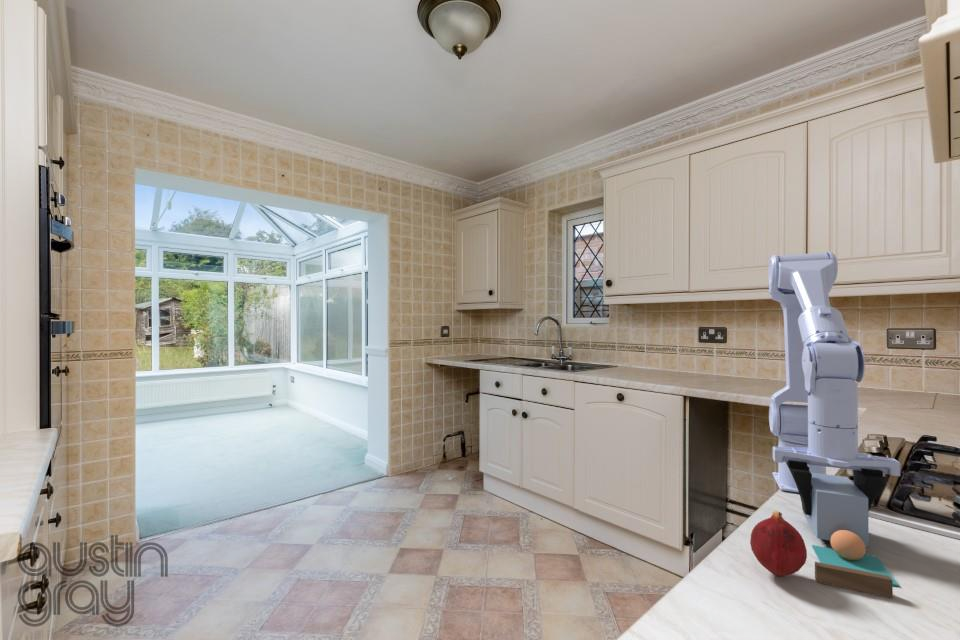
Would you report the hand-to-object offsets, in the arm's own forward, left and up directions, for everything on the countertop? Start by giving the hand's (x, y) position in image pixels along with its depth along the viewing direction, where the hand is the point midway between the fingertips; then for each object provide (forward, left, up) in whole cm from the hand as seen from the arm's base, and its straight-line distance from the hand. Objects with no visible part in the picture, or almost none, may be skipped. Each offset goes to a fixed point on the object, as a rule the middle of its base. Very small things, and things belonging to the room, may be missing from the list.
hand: (832, 516), depth 64 cm
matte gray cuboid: (0, 0, -2) cm, 2 cm away
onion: (+16, -9, -3) cm, 18 cm away
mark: (+9, 0, -3) cm, 9 cm away
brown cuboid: (+15, -2, -3) cm, 15 cm away
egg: (+7, 0, -1) cm, 7 cm away
